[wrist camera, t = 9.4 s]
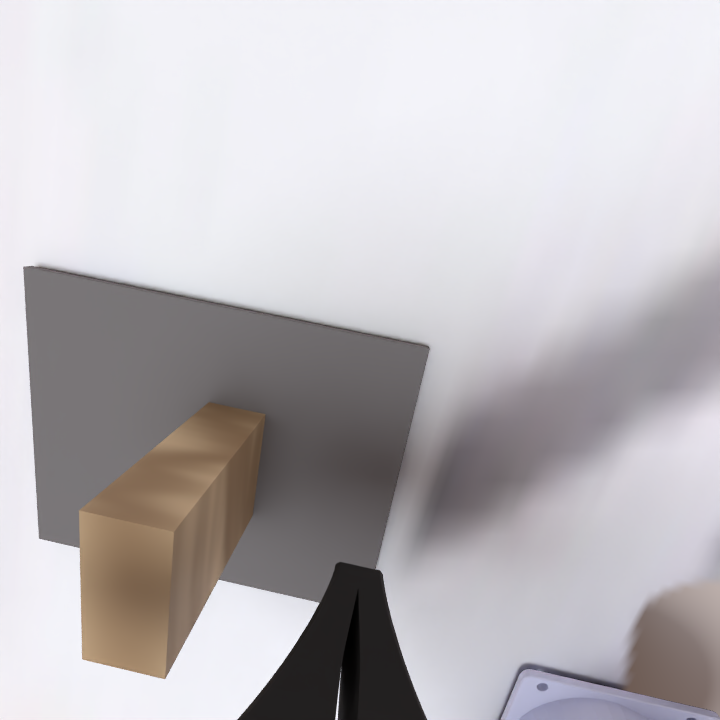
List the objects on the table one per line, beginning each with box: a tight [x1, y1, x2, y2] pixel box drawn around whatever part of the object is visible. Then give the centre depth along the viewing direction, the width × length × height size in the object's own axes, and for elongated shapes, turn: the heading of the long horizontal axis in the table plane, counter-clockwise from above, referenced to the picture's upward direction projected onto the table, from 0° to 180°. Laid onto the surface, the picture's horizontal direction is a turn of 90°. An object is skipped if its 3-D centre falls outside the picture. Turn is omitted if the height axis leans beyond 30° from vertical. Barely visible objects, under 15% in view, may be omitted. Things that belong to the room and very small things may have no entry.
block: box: [79, 402, 266, 679], centre depth 14 cm, size 2×5×7 cm, turn 169°
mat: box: [23, 266, 429, 603], centre depth 17 cm, size 16×13×1 cm
